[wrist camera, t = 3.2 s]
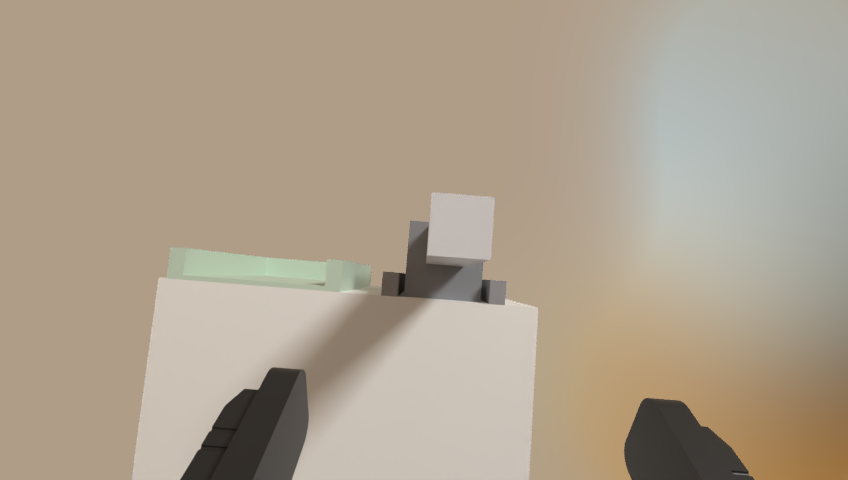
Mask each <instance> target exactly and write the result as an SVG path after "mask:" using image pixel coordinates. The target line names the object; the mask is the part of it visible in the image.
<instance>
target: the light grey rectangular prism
mask: <svg viewBox="0 0 848 480" xmlns="http://www.w3.org/2000/svg"><path fill="white" fill-rule="evenodd" d="M494 202H495V197H485V196H471V195H459V194H445V193H434V192H432V197H431V208H430V218H429V222H419V221H410V231H409V242H408V255H407V267H406V279H405V291H404V297H417V298H430V299H442V300H455V301H467V302H480V301H481V286H482V271H483V262H485V261H489V260H491V247H492V233H493V217H494V216H493V215H494Z"/></svg>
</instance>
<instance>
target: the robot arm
mask: <svg viewBox="0 0 848 480" xmlns="http://www.w3.org/2000/svg"><path fill="white" fill-rule="evenodd" d="M308 421H309V412H308V398H307V384H306V373H305V371H304V370H302V369H289V368H277V367H272V368H271V369H270V370H269V371H268V373H267V374H266V376H265V378H264V380H263V382H262V384H261V386H260V388H259V389H258V390H255V389H244V390H242V391H241V392H240V393H239V394H238V395H237V396H236V397H234V398H233V399H232V400H231V401H230V402H229V403H227V404H226V405H225V406H224V408H223V410H222V411H221V413H220V415H219V416H218V418H217V420H216V421H215V423H214V424H213V426H212V430H211V431H209V433H208V434H207V436H206V438H205V439H204V441H203V443H202V444H201V449H200V450H198V451H197V453H196V454H195V456H194V458H193V459H192V461H191V463H190V464H189V466H188V468H187V469H186V471H185V473H184V474H183V476H182V478H181V479H180V480H292V477H293V475H294V472H295V469H296V466H297V463H298V460H299V457H300V454H301V451H302V448H303V446H304V442H305V439H306V435H307V429H308ZM624 452H625V462H626V466H627V469H628V472H629V474H630V477H631V479H632V480H754V479H753V477H751V476H749V474H748V471H747V469H746V468H745V466H744V465H743V463H742V462H741V461H740V459H739V458H738V456H737V455H736V454H735V452H734V451H733V450H732V448H731V447H730V446H729V445H727V444H726V443H725V442H724V441H723V440H722V439H721V438H719V437H718V436H717V435H716V434H715V433H714V432H713V431H711V430H710V429H709V428H708V427H701V426H700V424H699V423H698V421H697V420H696V418H695V417H694V416H693V414H692V413H691V411H690V410H689V408H688V407H687V406H686V405H685V404H684V403H683V402H681V401H676V400H664V399H651V398H646V399H644V400H643V401H642V402H641V404H640V407H639V409H638V412H637V414H636V417H635V420H634V422H633V424H632V427H631V429H630V432H629V434H628V437H627V439H626V442H625V449H624Z"/></svg>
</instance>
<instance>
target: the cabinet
mask: <svg viewBox="0 0 848 480" xmlns="http://www.w3.org/2000/svg"><path fill="white" fill-rule="evenodd" d="M371 270H372V266H369V265H363V264H358V263H353V262H348V261H343V260H330V259H327V262H315V261H303V260H291V259H290V260H289V259H278V258H266V257H257V256H249V255H241V254H232V253H223V252H215V251H206V250H198V249H189V248H178V247H171V249H170V257H169V264H168V272H167V278H159V280H158V287H157V294H156V302H155V309H154V317H153V325H152V331H151V339H150V346H149V354H148V362H147V368H146V376H145V383H144V391H143V398H142V407H141V414H140V420H139V428H138V435H137V443H136V450H135V458H134V465H133V472H132V480H180V479H181V478H182V476H183V474H184V473H185V471H186V469H187V468H188V466H189V464H190V463H191V461H192V459H193V458H194V456H195V454H196V453H197V451H198V450H200V449H201V444H202V443H203V441H204V439H205V438H206V436H207V434H208V433H209V431H211V430H212V426H213V424H214V423H215V421H216V420H217V418H218V416H219V415H220V413H221V411H222V410H223V408H224V406H225V405H226V404H227V403H229V402H230V401H231V400H232V399H233V398H234V397H236V396H237V395H238V394H239V393H240V392H241V391H242V390H244V389H255V390H258V389H259V388H260V386H261V384H262V382H263V380H264V378H265V376H266V374H267V373H268V371H269V370H270V369H271V368H272V367H277V368H289V369H302V370H304V371H305V373H306V384H307V398H308V412H309V421H308V429H307V435H306V439H305V442H304V446H303V448H302V451H301V454H300V457H299V460H298V463H297V466H296V469H295V472H294V475H293V477H292V480H529V468H530V450H531V449H530V448H531V431H532V413H533V412H532V411H533V394H534V375H535V357H536V339H537V321H538V308H536V307H533V306H529V305H526V304H522V303H518V302H514V301H511V300H508V299H505V294H506V281H495V280H482V286H481V301H480V302H467V301H455V300H442V299H430V298H417V297H404V291H405V279H406V274H404V273H394V272H383V279H382V287H377V286H370V281H371Z"/></svg>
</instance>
